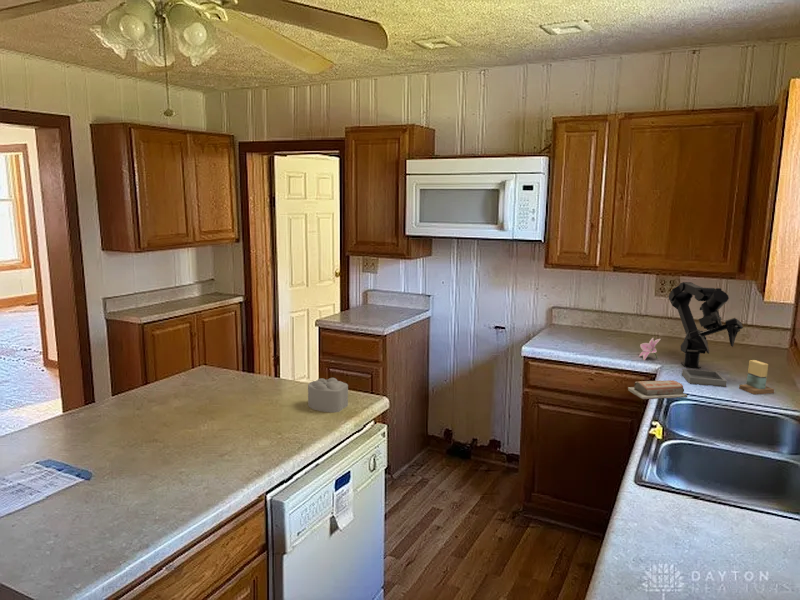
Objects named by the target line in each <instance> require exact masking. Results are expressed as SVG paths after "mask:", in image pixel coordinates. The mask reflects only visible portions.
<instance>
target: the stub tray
mask: <svg viewBox="0 0 800 600" xmlns="http://www.w3.org/2000/svg"><path fill="white" fill-rule="evenodd" d="M681 375H682V376H683V378H684V379H685V380H686V382H687V383H688V384H689V383H690V385H697V384H699V385H700V386H708V385H713V386H712V387H720V386H721V388H722V387H723V388H727V383H728V380H727V379H726V378H725V377H724V376H723V375H722V374H720V372H719V371H717V370H703V369H693V368H692V369H690V368H689V369H688V368H682V371H681Z"/></svg>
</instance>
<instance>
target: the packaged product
mask: <svg viewBox="0 0 800 600" xmlns="http://www.w3.org/2000/svg"><path fill="white" fill-rule="evenodd" d="M627 389H628V390H627V391H629V392H630V393H632V394H633V395H635V396H636V397H638V398H640V399H642V400H650V399H673V398H677V397H678V398H688V394H686V393H684V392H685V388H684V385H683V384H682V383H681V382H678V381H676V380H644V381H643V380H641V381H639V380H638V381H635V382H634V386H630V387H629V386H628V387H627Z"/></svg>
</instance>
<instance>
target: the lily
mask: <svg viewBox="0 0 800 600" xmlns="http://www.w3.org/2000/svg"><path fill="white" fill-rule="evenodd" d="M654 339H655V338H654V337H652V338H651V339H650V340H649V342H643V343H640V345H639V346H640V349H641V350H642V351H641V352H640V353H639V355H638V357H639V358H640V357H642V360H643V361H646V359H647V358H648V356H649V355H650V354H654V356H655V358H656V359H658V355H657V354H656V353H657V352H658V351H657V348H656V346H657V344H658V343H659V342H660V341H661V338H657V339H655V340H654Z"/></svg>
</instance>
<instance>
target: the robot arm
mask: <svg viewBox="0 0 800 600" xmlns="http://www.w3.org/2000/svg"><path fill="white" fill-rule="evenodd" d="M693 297H694V299H695V300H696V301H697V302H703V303H701V305H700V307H699V311H702V317H701V318H699V319H698V321H699V322H698V323H699V325H700V327H702V328H703V329H705V330H700V329H698V327H697V324H696V322H695V321H696V320H695V319H694V316H693V313H692V311H691V310H692V309H691V308H690V303H691V299H693ZM729 299H730V298H729V295H728V294H727V292H725V291H724V290H722V288H719V287H716V288H714V287H703V286H701V285H697V284H695V283H693V282H687V281H682V282H680V283H679V285H677V286H676V287H674V288H672V290H671V291H670V292H669V294H668V300H669V302H670V304H671V306H672V307H673V308H675V310H677V312H678V314H679V318H680V320H681V323H682V326H683V329H684V332H685V336H684V339H683V342H682V343H681V345H680V351H681V352H683V353H684V361H681V365H683V367H684V368H692V369H693V368H696V369H701V368H702V366H701V365H700V357H701V354H706V353H707V354H710V348H709V345H708V344H709V342H708V339H707V337H706V336H710V335H713V334H716V333H719V332H722V331H725V330H726V331H727V335H728V341H729V344H730V346H731V347H732V348H733V347H734V346H735V345H734V344H735V340H736V338H737V335H738V333H739V332H740V331H741V330H742V329H743V328H744V327H743V323H742V321H740V320H739V319H738V318H736V317H734V318H731V319H727V320H725V323H724V324H723V323H722V319H723V318H722V317H721V316H720V313H719V309H721V308H722V307H723V306H724V305H725V304H726V303H727V302H728V301H729Z"/></svg>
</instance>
